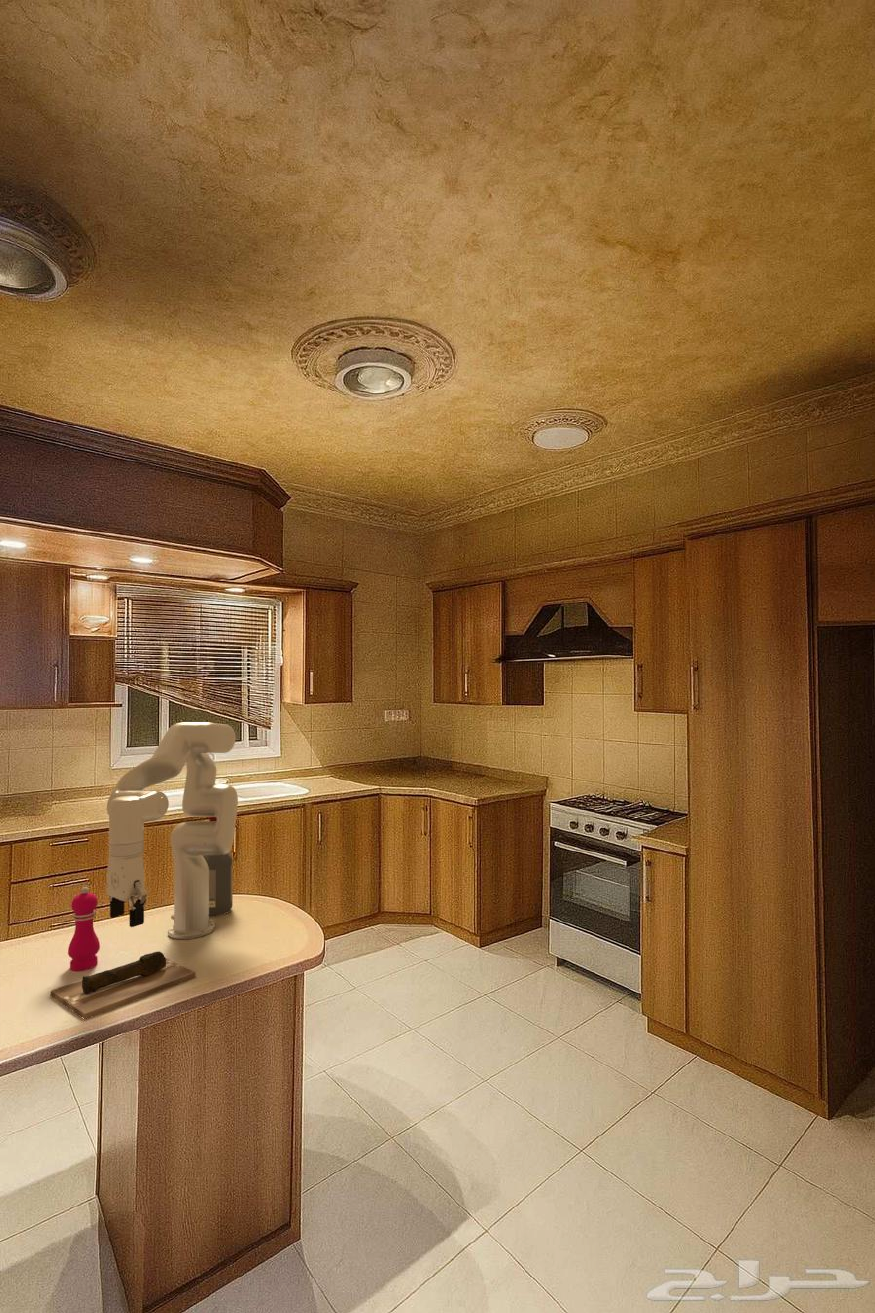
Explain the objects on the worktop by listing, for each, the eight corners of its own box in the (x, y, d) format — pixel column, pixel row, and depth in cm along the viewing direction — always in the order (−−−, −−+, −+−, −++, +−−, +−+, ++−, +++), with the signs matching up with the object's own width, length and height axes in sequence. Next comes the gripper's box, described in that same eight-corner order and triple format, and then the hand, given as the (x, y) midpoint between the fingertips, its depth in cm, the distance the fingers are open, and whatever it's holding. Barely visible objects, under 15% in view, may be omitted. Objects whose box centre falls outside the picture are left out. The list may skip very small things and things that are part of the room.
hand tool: (86, 997, 149) (86, 976, 149) (80, 992, 152) (81, 971, 152) (170, 972, 162) (170, 952, 162) (163, 967, 165) (163, 948, 165)
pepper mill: (94, 958, 174) (95, 881, 175) (103, 966, 169) (104, 886, 170) (63, 966, 169) (65, 887, 170) (72, 975, 164) (73, 893, 165)
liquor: (219, 905, 216) (220, 812, 217) (235, 910, 210) (236, 815, 211) (194, 912, 209) (194, 816, 210) (210, 918, 203) (210, 820, 204)
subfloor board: (50, 996, 153) (50, 990, 153) (158, 959, 173) (158, 954, 173) (84, 1019, 141) (84, 1013, 141) (195, 977, 162) (195, 972, 162)
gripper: (94, 846, 161) (94, 917, 161) (128, 858, 150) (128, 934, 150) (124, 840, 167) (125, 908, 167) (159, 851, 156) (160, 924, 156)
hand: (126, 920), depth 158 cm, fingers open, 9 cm apart
